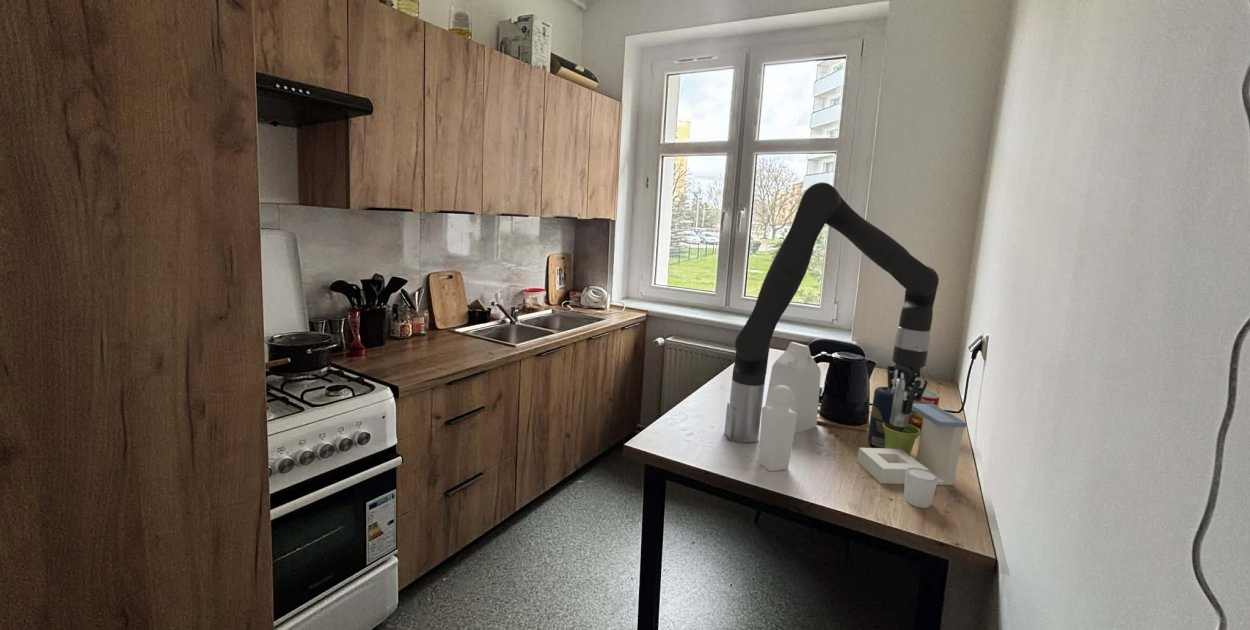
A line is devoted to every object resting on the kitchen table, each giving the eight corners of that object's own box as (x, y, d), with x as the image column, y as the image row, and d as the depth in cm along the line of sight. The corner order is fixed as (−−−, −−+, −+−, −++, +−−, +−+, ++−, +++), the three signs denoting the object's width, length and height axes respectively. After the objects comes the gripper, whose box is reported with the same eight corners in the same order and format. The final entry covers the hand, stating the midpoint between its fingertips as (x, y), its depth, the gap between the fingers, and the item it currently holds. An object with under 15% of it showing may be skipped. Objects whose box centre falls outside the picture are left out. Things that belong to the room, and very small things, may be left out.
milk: (816, 426, 168) (827, 347, 163) (793, 433, 162) (804, 350, 157) (785, 414, 178) (795, 338, 173) (762, 419, 171) (772, 341, 167)
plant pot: (904, 466, 143) (909, 436, 142) (871, 452, 151) (876, 424, 149) (921, 459, 149) (926, 430, 147) (889, 446, 156) (893, 418, 155)
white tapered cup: (902, 504, 124) (907, 476, 122) (899, 491, 130) (903, 464, 129) (936, 512, 121) (941, 483, 120) (930, 498, 128) (935, 471, 126)
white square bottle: (775, 459, 143) (785, 380, 139) (791, 470, 137) (801, 389, 133) (755, 461, 141) (764, 382, 137) (769, 473, 135) (780, 390, 131)
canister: (899, 455, 150) (910, 394, 147) (863, 446, 155) (873, 387, 152) (903, 445, 158) (913, 387, 155) (869, 436, 163) (878, 380, 160)
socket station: (881, 484, 133) (892, 420, 130) (856, 460, 146) (865, 401, 142) (954, 486, 134) (966, 422, 131) (922, 462, 147) (933, 404, 144)
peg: (895, 427, 135) (902, 381, 133) (886, 420, 139) (893, 376, 137) (910, 427, 135) (918, 382, 133) (901, 421, 139) (908, 377, 137)
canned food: (901, 427, 173) (907, 392, 170) (911, 422, 178) (917, 388, 176) (927, 435, 167) (934, 399, 165) (936, 430, 172) (943, 395, 170)
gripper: (881, 338, 140) (871, 400, 143) (914, 352, 126) (902, 421, 129) (908, 339, 141) (898, 401, 144) (944, 354, 127) (931, 422, 130)
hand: (900, 410), depth 137 cm, fingers closed on peg, 4 cm apart
